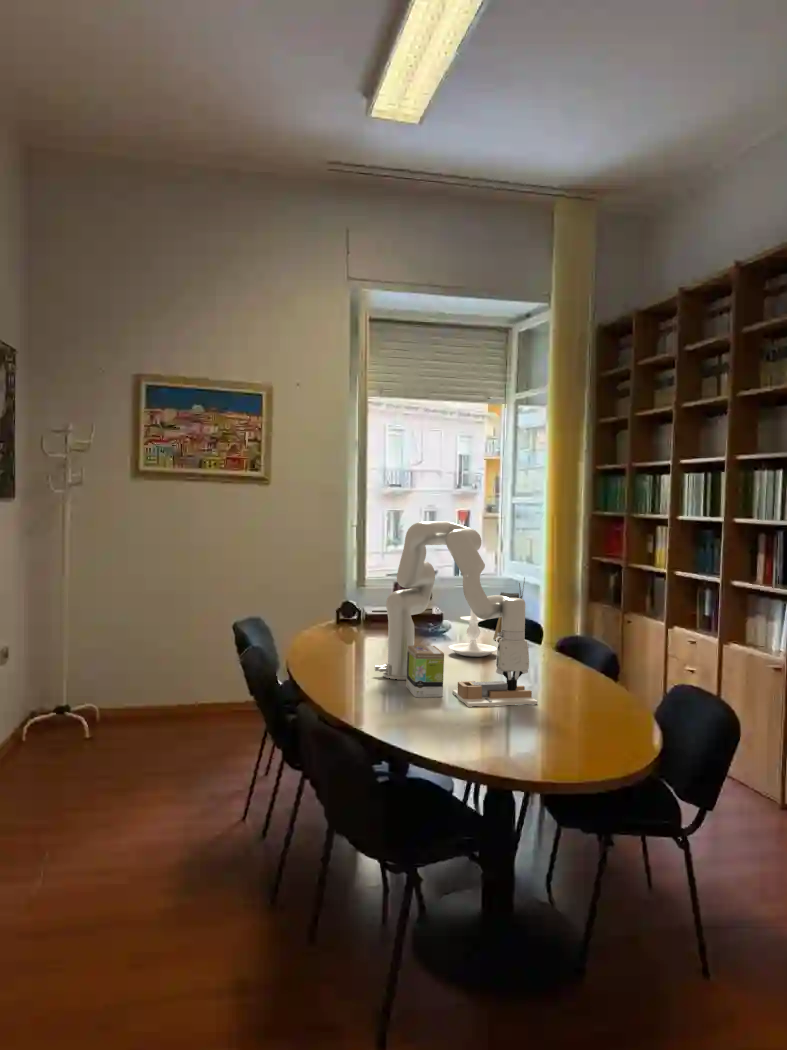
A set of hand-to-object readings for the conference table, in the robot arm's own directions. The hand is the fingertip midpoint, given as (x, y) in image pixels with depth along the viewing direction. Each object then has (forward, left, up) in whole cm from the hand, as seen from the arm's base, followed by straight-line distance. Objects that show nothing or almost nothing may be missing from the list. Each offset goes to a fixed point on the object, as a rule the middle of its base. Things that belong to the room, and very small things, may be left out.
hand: (511, 691), depth 266 cm
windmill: (+37, +105, -3) cm, 111 cm away
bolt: (-8, 0, -1) cm, 8 cm away
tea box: (-26, +12, -3) cm, 29 cm away
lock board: (-6, 0, -2) cm, 6 cm away
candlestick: (+12, +72, -3) cm, 73 cm away
